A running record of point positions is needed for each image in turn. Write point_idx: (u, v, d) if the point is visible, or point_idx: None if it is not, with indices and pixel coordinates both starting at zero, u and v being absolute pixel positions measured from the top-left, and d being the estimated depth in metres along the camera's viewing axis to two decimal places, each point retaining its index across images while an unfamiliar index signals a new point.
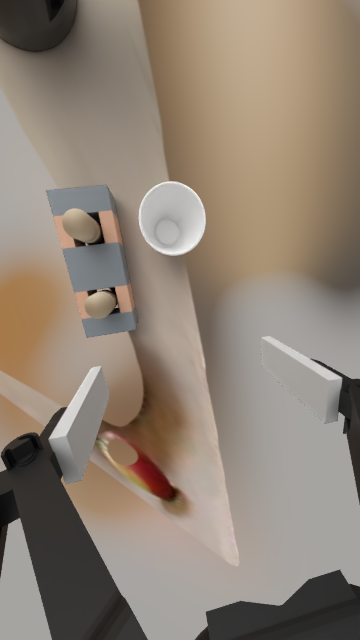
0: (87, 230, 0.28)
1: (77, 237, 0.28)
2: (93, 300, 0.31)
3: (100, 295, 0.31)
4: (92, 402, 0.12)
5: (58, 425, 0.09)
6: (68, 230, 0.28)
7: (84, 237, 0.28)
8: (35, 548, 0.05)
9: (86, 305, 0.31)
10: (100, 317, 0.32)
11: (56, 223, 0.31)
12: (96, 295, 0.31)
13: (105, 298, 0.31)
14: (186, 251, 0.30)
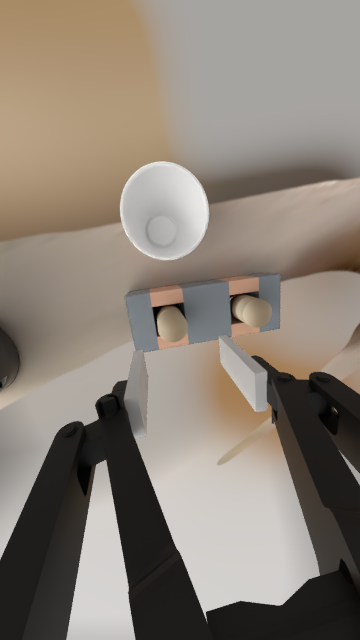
0: (178, 318, 0.26)
1: (186, 329, 0.26)
2: (251, 317, 0.27)
3: (246, 310, 0.27)
4: (142, 377, 0.14)
5: (127, 390, 0.11)
6: (179, 337, 0.26)
7: (186, 322, 0.26)
8: (114, 482, 0.07)
9: (255, 325, 0.28)
10: (270, 312, 0.27)
11: (165, 347, 0.31)
12: (246, 314, 0.27)
13: (250, 305, 0.27)
14: (204, 194, 0.22)
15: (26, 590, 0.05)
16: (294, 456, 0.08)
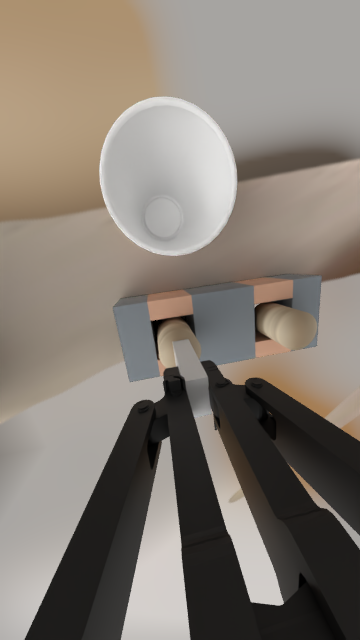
0: None
1: (198, 353, 0.19)
2: (288, 336, 0.20)
3: (283, 326, 0.19)
4: None
5: (183, 374, 0.12)
6: None
7: (198, 344, 0.19)
8: (175, 453, 0.07)
9: (294, 347, 0.20)
10: (315, 328, 0.20)
11: None
12: (282, 332, 0.19)
13: (288, 319, 0.19)
14: (231, 154, 0.14)
15: (105, 537, 0.05)
16: (241, 464, 0.08)
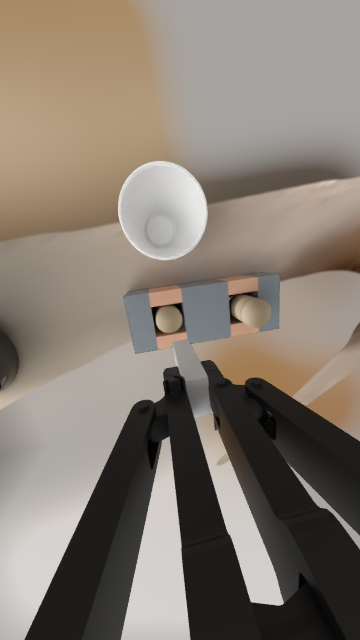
0: (174, 312, 0.30)
1: (180, 321, 0.30)
2: (250, 317, 0.27)
3: (245, 310, 0.27)
4: None
5: (183, 374, 0.12)
6: (175, 328, 0.30)
7: (180, 315, 0.30)
8: (175, 453, 0.07)
9: (254, 325, 0.28)
10: (269, 312, 0.27)
11: (164, 347, 0.31)
12: (245, 314, 0.27)
13: (249, 305, 0.27)
14: (203, 194, 0.22)
15: (105, 537, 0.05)
16: (241, 465, 0.08)
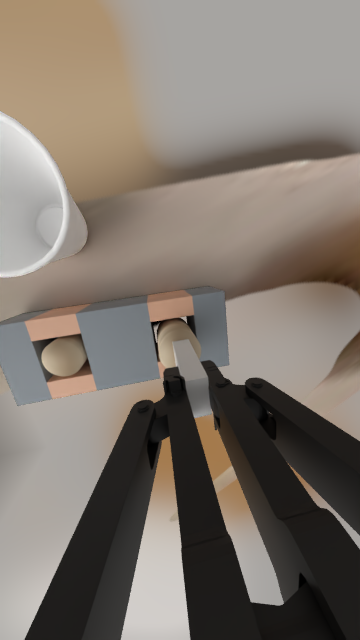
0: (68, 347, 0.20)
1: (80, 360, 0.21)
2: (169, 358, 0.18)
3: (161, 348, 0.18)
4: None
5: (182, 374, 0.12)
6: (73, 369, 0.21)
7: (79, 351, 0.21)
8: (175, 453, 0.07)
9: None
10: (198, 349, 0.19)
11: (61, 395, 0.22)
12: (161, 354, 0.18)
13: (166, 340, 0.18)
14: (53, 165, 0.13)
15: (105, 537, 0.05)
16: (241, 464, 0.08)
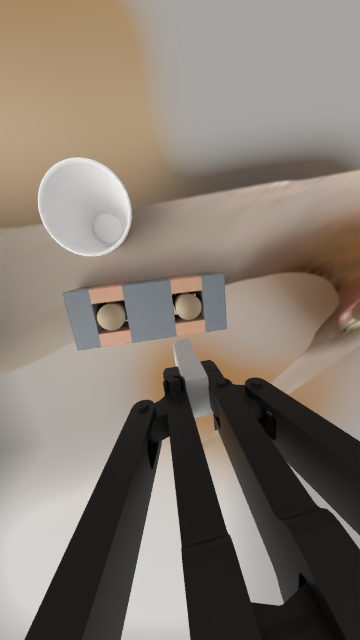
0: (115, 309, 0.30)
1: (122, 319, 0.30)
2: (182, 310, 0.31)
3: (177, 303, 0.30)
4: None
5: (183, 374, 0.12)
6: (117, 325, 0.30)
7: (122, 312, 0.30)
8: (175, 453, 0.07)
9: (187, 317, 0.31)
10: (200, 306, 0.31)
11: (107, 344, 0.31)
12: (177, 307, 0.31)
13: (180, 299, 0.30)
14: (125, 191, 0.22)
15: (105, 537, 0.05)
16: (241, 465, 0.08)
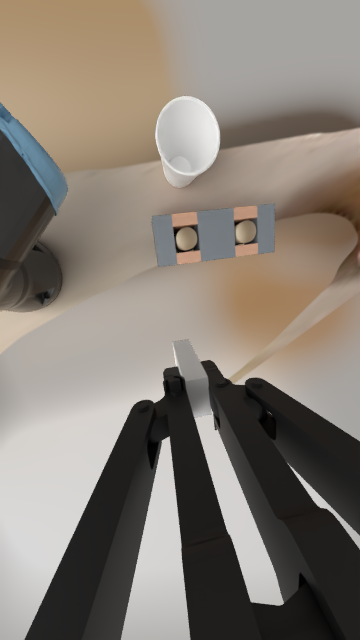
0: (191, 231, 0.37)
1: (196, 239, 0.38)
2: (241, 234, 0.39)
3: (238, 228, 0.38)
4: None
5: (183, 374, 0.12)
6: (191, 245, 0.38)
7: (195, 234, 0.38)
8: (175, 453, 0.07)
9: (244, 240, 0.39)
10: (255, 230, 0.39)
11: (182, 262, 0.39)
12: (238, 231, 0.39)
13: (241, 224, 0.38)
14: (217, 123, 0.30)
15: (105, 537, 0.05)
16: (241, 465, 0.08)
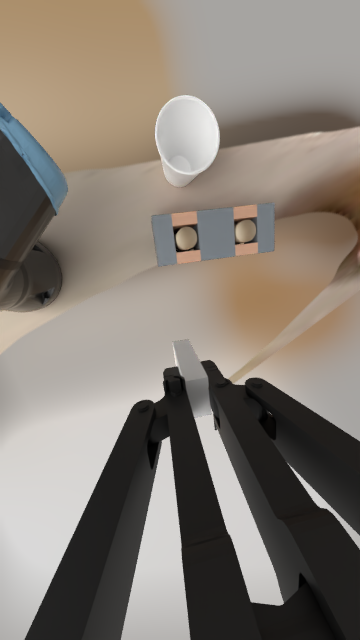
0: (190, 231, 0.37)
1: (195, 239, 0.38)
2: (241, 233, 0.39)
3: (238, 227, 0.38)
4: None
5: (183, 374, 0.12)
6: (191, 245, 0.38)
7: (195, 234, 0.38)
8: (175, 453, 0.07)
9: (244, 239, 0.39)
10: (255, 229, 0.39)
11: (182, 262, 0.39)
12: (237, 230, 0.39)
13: (240, 223, 0.38)
14: (216, 122, 0.30)
15: (105, 537, 0.05)
16: (241, 465, 0.08)
